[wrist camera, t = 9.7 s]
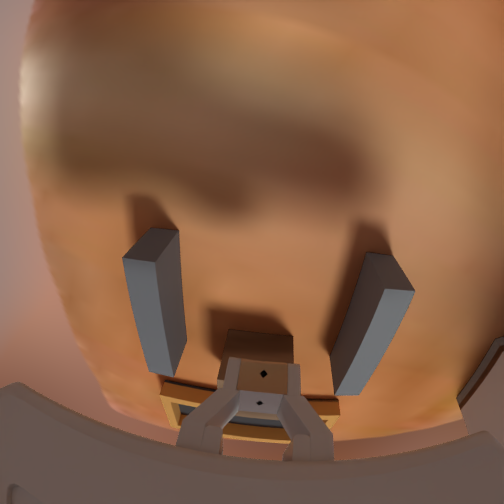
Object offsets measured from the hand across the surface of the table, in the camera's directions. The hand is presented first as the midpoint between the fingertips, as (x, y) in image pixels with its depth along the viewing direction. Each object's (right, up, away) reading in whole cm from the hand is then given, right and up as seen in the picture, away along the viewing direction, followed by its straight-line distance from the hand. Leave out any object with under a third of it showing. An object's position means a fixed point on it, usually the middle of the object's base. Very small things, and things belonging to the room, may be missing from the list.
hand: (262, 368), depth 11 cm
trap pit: (-1, -13, +16) cm, 20 cm away
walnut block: (0, -3, +11) cm, 11 cm away
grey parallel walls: (+1, +1, +8) cm, 8 cm away
